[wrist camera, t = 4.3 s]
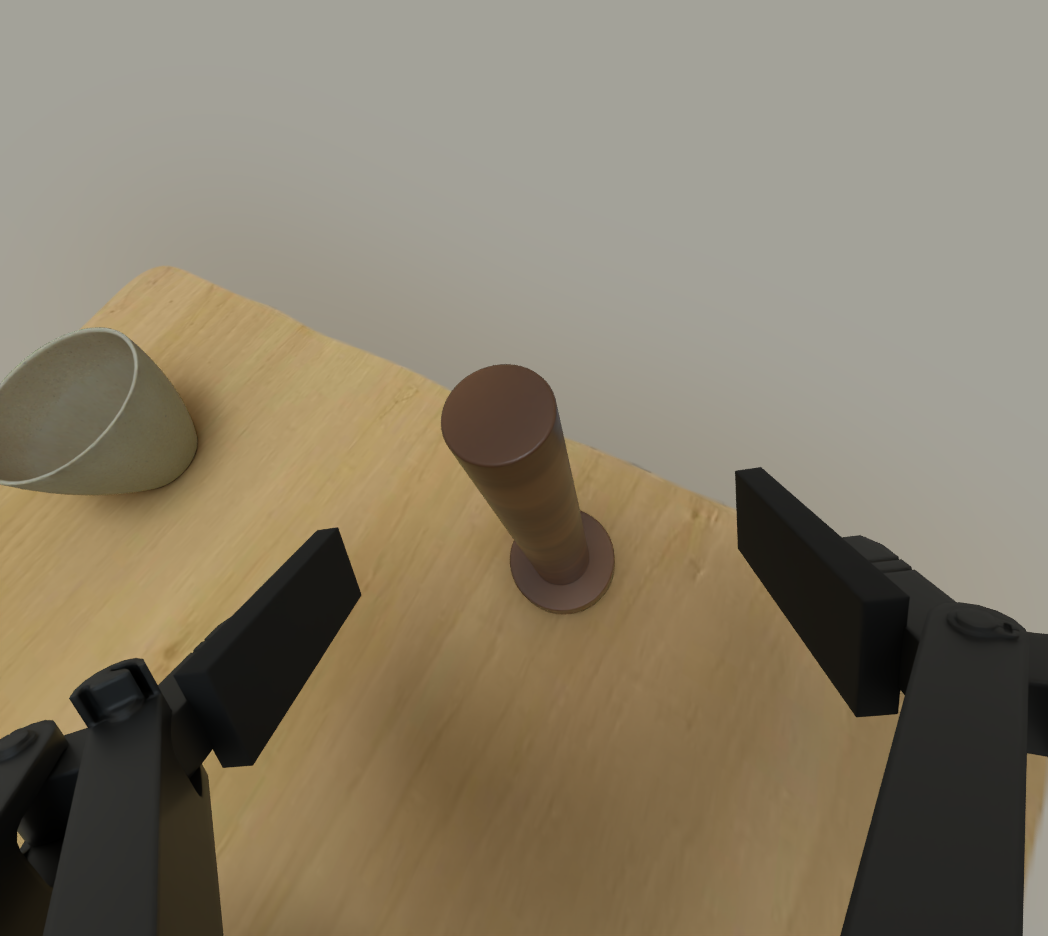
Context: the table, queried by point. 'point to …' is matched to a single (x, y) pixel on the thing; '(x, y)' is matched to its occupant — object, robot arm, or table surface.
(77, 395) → the flower pot
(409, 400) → the table surface
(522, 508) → the wooden peg stand
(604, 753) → the table surface
